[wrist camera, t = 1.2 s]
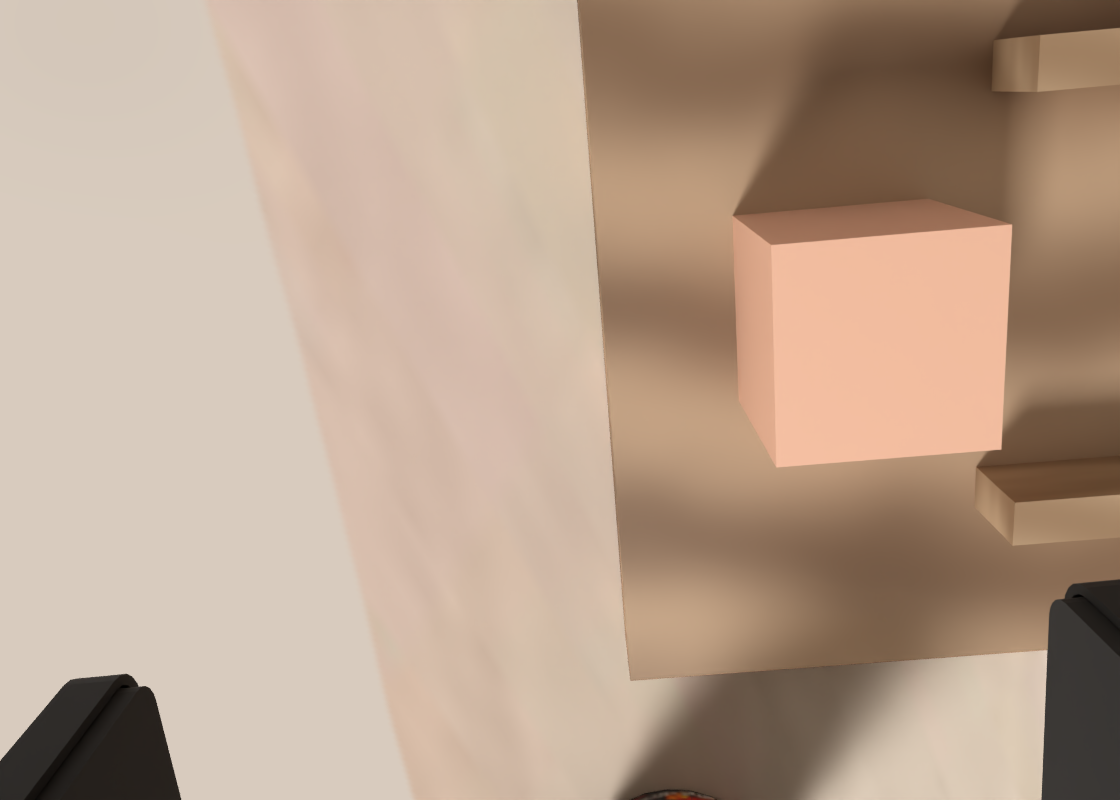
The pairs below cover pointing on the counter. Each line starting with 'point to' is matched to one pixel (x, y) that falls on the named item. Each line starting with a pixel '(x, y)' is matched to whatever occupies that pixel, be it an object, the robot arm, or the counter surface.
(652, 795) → the deodorant
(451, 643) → the counter surface
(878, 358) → the terracotta block
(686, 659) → the deck
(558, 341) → the counter surface
